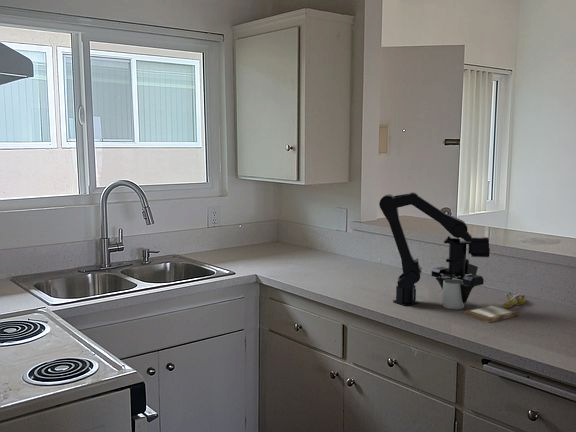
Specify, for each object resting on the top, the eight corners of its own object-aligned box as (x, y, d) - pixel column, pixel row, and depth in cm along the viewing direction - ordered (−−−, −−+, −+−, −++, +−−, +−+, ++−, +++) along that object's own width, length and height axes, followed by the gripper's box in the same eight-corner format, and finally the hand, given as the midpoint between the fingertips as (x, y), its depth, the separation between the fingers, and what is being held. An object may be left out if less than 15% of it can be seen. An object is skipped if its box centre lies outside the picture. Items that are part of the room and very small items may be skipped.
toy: (497, 302, 198) (508, 290, 210) (506, 315, 197) (517, 302, 209) (510, 295, 195) (520, 283, 207) (519, 308, 194) (529, 295, 206)
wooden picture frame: (489, 322, 181) (489, 318, 181) (464, 314, 189) (464, 310, 189) (517, 315, 188) (517, 311, 188) (492, 308, 197) (492, 304, 196)
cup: (439, 307, 197) (440, 282, 196) (448, 301, 206) (449, 276, 204) (460, 310, 193) (461, 285, 192) (468, 304, 202) (469, 279, 200)
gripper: (495, 258, 193) (493, 303, 195) (453, 249, 209) (451, 291, 211) (472, 261, 187) (471, 308, 189) (431, 252, 203) (429, 295, 205)
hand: (455, 300), depth 199 cm, fingers closed on cup, 7 cm apart
